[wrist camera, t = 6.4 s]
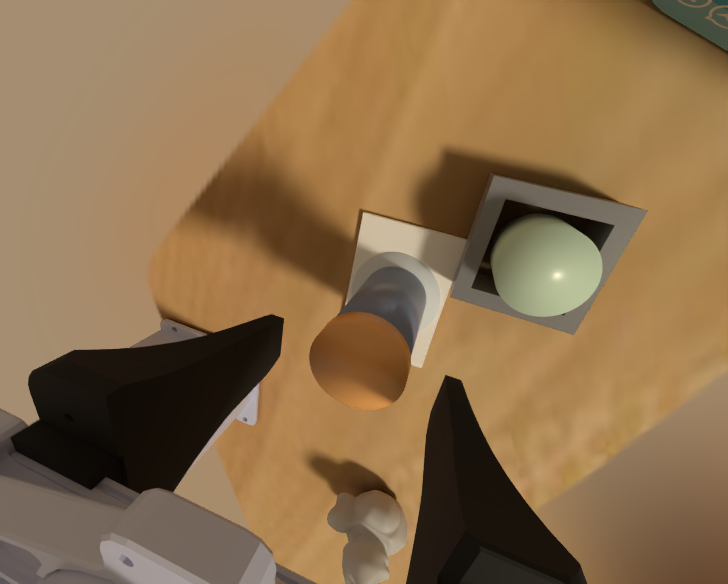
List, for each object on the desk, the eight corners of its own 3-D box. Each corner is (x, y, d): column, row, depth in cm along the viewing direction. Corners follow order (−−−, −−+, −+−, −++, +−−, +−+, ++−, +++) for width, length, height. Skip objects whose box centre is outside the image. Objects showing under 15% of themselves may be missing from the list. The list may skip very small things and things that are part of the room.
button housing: (452, 279, 18) (450, 296, 16) (490, 172, 16) (494, 175, 14) (560, 311, 17) (573, 335, 15) (620, 202, 15) (647, 210, 12)
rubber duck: (397, 529, 29) (374, 649, 22) (333, 493, 30) (291, 598, 23) (422, 498, 26) (405, 623, 19) (351, 460, 27) (310, 566, 20)
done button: (478, 277, 16) (480, 300, 14) (507, 204, 15) (516, 214, 12) (555, 299, 16) (572, 328, 13) (594, 225, 14) (623, 241, 11)
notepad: (340, 336, 22) (338, 339, 22) (364, 211, 18) (362, 212, 18) (421, 365, 21) (421, 369, 21) (466, 239, 17) (466, 240, 17)
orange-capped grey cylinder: (357, 317, 21) (306, 391, 14) (366, 257, 19) (313, 311, 13) (419, 335, 20) (395, 422, 13) (435, 274, 18) (417, 341, 12)
